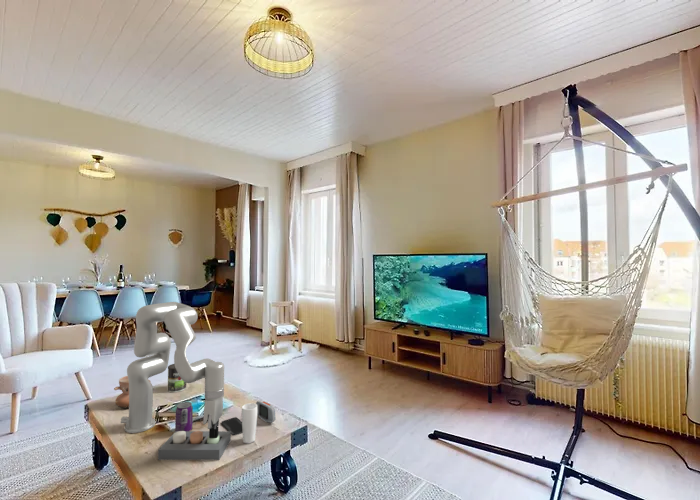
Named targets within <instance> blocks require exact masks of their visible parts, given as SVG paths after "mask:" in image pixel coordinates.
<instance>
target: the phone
mask: <svg viewBox="0 0 700 500" xmlns="http://www.w3.org/2000/svg"><path fill="white" fill-rule="evenodd" d="M220 423H221V425H222V427H223V428H225V430H226V431H231V435H232V436H237V435H240V434H243V432H242V420H240V419H239V418H238V417H237V416H235V417H232V418H231V417H230V418H228V419H225V420H222V421H221V422H220Z"/></svg>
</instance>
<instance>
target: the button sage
mask: <svg viewBox="0 0 700 500" xmlns="http://www.w3.org/2000/svg"><path fill="white" fill-rule="evenodd" d="M219 440H220V436H219V435H218V437H217V438H209V436H208V437H207V444H218V443H219Z"/></svg>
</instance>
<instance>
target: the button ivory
mask: <svg viewBox="0 0 700 500" xmlns="http://www.w3.org/2000/svg"><path fill="white" fill-rule="evenodd" d="M172 435H173V444H184V442H185V441H186V432H185V431H178V432H176V433H172Z"/></svg>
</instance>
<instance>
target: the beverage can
mask: <svg viewBox="0 0 700 500" xmlns="http://www.w3.org/2000/svg"><path fill="white" fill-rule="evenodd" d="M193 409H194V407H193V405H192V402H191V401H183V402H181V403H180V402H179V403H178V404H177V405H176V408H175V418H174V419H175V422H174V423H175V426H174V427H175V429H174V430H175V431H192V430H193V417H194V415H193ZM175 431H174V432H175Z"/></svg>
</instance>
